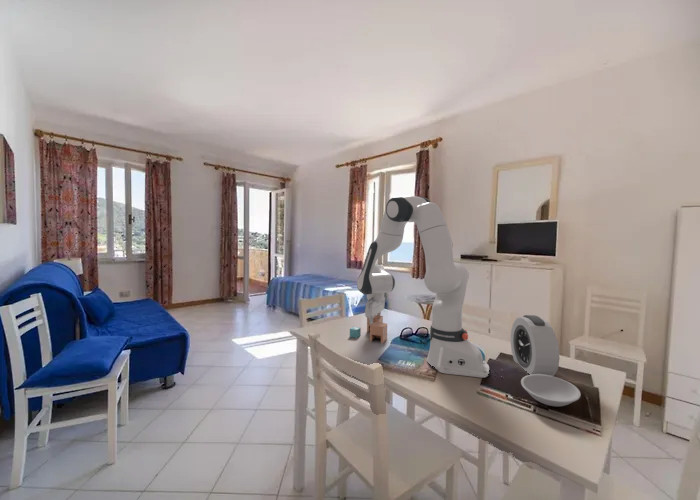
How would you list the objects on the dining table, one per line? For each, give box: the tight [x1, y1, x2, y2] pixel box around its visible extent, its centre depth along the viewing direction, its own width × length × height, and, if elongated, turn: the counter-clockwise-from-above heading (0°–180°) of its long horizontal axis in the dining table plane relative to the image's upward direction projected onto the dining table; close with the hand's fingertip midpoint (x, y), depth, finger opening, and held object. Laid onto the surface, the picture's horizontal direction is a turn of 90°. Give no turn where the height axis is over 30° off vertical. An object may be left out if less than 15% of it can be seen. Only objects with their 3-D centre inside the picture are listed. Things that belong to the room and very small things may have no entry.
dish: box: [520, 374, 582, 408], centre depth 86 cm, size 18×14×5 cm
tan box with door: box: [366, 315, 384, 333], centre depth 151 cm, size 6×6×8 cm
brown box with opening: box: [369, 322, 388, 344], centre depth 137 cm, size 6×6×8 cm
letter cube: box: [349, 326, 361, 339], centre depth 142 cm, size 4×4×4 cm
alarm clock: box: [510, 314, 560, 377], centre depth 109 cm, size 21×8×20 cm, turn 172°
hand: (375, 322), depth 151 cm, fingers open, 8 cm apart
